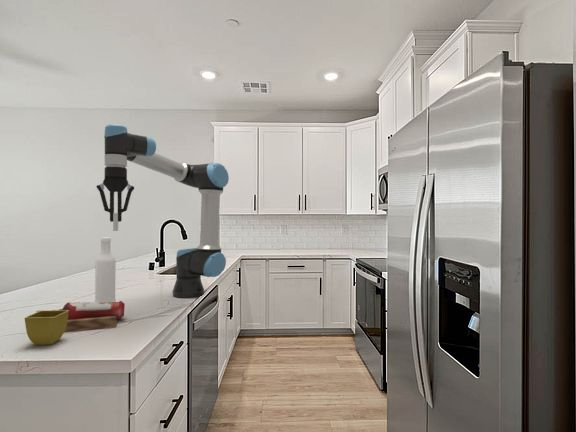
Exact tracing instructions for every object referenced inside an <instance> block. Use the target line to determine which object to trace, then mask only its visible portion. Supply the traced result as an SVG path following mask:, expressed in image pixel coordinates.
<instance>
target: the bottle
mask: <svg viewBox="0 0 576 432" xmlns="http://www.w3.org/2000/svg"><path fill="white" fill-rule="evenodd" d="M111 241H112V240H111V236H102V237H101V238H100V254H99V255H97V257H96V259H95V276H94V277H95V281H94V282H95V285H94V287H95V289H94V290H95V291H94V295H95V297H94V298H95V299H94V302H117V301H116V269H117V268H116V265H117V264H116V258H115V256H114V255H113V254H112V253H111Z"/></svg>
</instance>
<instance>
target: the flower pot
mask: <svg viewBox="0 0 576 432" xmlns="http://www.w3.org/2000/svg"><path fill="white" fill-rule="evenodd" d="M38 311H39V312H34V313H32V314H29V315H27V316H25V317H24V325H25V330H26V335H27V337H28V340H30V342H31V343H32V344H33V345H35V346H41V345H42V346H43V345H53V344H55V342H57V341H60V339H61V338H62V337H63V335H64V333H65V332H64V331H65V329H66V326H67V320H68V313H69V310H58V309H51V310H48V309H47V310H43V311H42V310H38Z"/></svg>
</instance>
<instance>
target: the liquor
mask: <svg viewBox="0 0 576 432" xmlns="http://www.w3.org/2000/svg"><path fill="white" fill-rule="evenodd" d="M57 310H69V313H68V320H72V319H84V318H96V317H108V316H116V318H118V320H122V318H123V317H124V316H125V303H124V302H123V301H122V300H119V301H116V302H95V301H94V302H93V301H92V302H87V301H84V302H80V301H79V302H77V301H76V302H75V301H74V302H71V301H70V302H66V304H64V306H63V307H62V308H59V309H57ZM39 311H40V310H36V312H39ZM41 311H44V310H41ZM36 312H35V313H36Z"/></svg>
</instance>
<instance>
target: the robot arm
mask: <svg viewBox="0 0 576 432" xmlns="http://www.w3.org/2000/svg"><path fill="white" fill-rule="evenodd" d="M103 137H104V166H105V167H104V179H103V181H102V183H101V184H97V185H96V189H97V190H98V192H99V194H100V198H101V202H102V207H103V209H104V210H103V211H105V212H108V213H109V221H110V222H111V223H113V224H112V227H113V229H112V231H113V232H115V231H116V232H118V231H119V222H122V216H123V215H122V214H123V213H124V212H126V211H127V210H128V208H129V203H130V201H131V195H132V192H133V191H134V190H135V186H133V185H131V183H129V181H128V169H127V167H128V162H131V163H134V164H136V165H139V166H140V167H141V166H142V167H143V168H147V169H149V170H152V171H154V172H157V173H160V174H163V175H165V176H168V177H171V178H173V179H174V180H175V181H176V182H177V183H180V184H183V185H186V186H189V187H191V188H195V189H198V192H199V194H201V202H200V205H201V207H200V228H199V229H200V232H199V234H200V235H199V245H198V246H197V247H195V248H194V247H193V248H183V249H178V250H177V252H176V258H175V259H176V261H175V263H176V264H175V265H176V266H175V267H176V281H175V284H174V286H173V289H172V296H173V297H175V298H179V299H180V298H183V299H187V298H188V299H190V298H197V297H202V296H204V295H205V288H204V285H203V282H202V279H201V276H203V277H207V278H210V277H211V278H216V277H219V276H220V275H221V274H222V272H223V271H225V268H226V264H227V260H226V259H227V258H226V256H225V254H223V253H222V248H221V247H220V245H219V233H220V232H219V231H220V228H219V227H220V226H219V225H220V202H221V201H220V198H221V195H222V194H223V193H224V188H225V187H226V186H227V184H229V178H230V177H229V173H228V170H227V168H226V166H225V165H223V164H222V163H219V162H209V163H202V164H201V163H200V164H188V163H186V162H178V161H175V160H173V159H170V158H168V157H165V156H163V155H161V154H159V153H157V152H156V150H157V143H156V140H154V139H153V138H152V137H149V136H146V135H145V136H143V135H138V134H133V133H129V132H128V128H127V126H126V125H123V124H119V123H118V124H117V123H116V124H115V123H113V124H112V123H111V124H107V125H105V127H104V136H103ZM105 188H106V189H107V191H108V192H109V205H108V202H107V197H106V193H105V190H104V189H105ZM126 188H127V193H126V197H125V201H124V203H122V202H123V201H122V198H123V197H122V194H123V193H122V192H123V191H124V190H126ZM115 193H117V212H115ZM122 204H123V205H122ZM122 207H123V208H122Z"/></svg>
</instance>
